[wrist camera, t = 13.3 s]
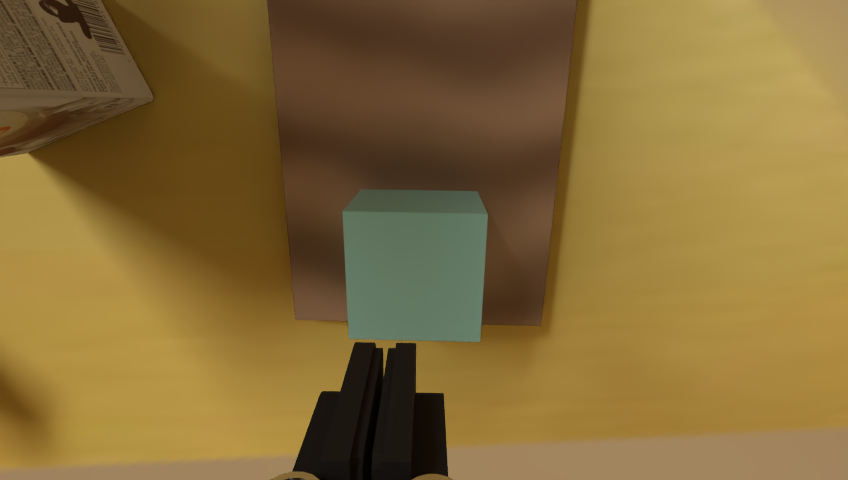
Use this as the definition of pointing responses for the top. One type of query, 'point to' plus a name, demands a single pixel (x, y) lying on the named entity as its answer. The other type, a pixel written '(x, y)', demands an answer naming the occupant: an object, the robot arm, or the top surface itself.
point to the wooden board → (422, 129)
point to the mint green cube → (415, 264)
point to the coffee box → (61, 72)
